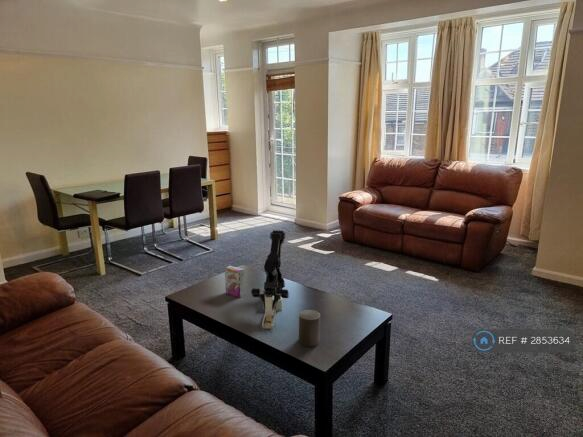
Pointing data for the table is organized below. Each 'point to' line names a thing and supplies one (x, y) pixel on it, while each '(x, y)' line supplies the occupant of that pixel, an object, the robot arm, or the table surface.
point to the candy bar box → (235, 281)
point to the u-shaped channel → (268, 322)
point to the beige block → (269, 307)
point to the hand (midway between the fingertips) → (268, 309)
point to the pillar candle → (309, 328)
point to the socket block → (278, 304)
